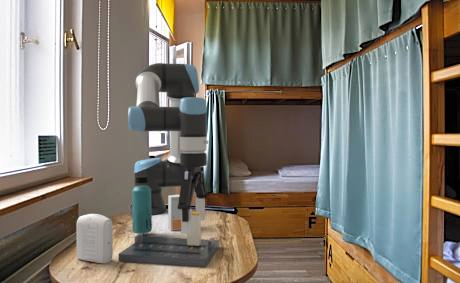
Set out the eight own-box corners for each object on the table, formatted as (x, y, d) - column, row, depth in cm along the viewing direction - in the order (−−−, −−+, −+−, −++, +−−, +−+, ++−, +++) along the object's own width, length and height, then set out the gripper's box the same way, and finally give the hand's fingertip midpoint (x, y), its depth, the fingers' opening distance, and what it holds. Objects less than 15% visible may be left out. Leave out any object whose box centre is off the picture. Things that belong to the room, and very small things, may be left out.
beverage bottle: (147, 239, 110) (146, 177, 110) (128, 237, 111) (127, 177, 111) (155, 233, 116) (155, 175, 116) (137, 232, 118) (137, 174, 117)
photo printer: (115, 259, 92) (115, 214, 92) (104, 265, 88) (103, 217, 88) (86, 254, 96) (85, 211, 95) (73, 260, 92) (73, 214, 91)
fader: (189, 242, 98) (188, 211, 98) (201, 243, 98) (200, 211, 98) (186, 245, 96) (186, 213, 96) (199, 245, 96) (198, 213, 95)
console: (144, 242, 106) (144, 229, 106) (219, 246, 102) (219, 233, 102) (118, 261, 91) (118, 246, 90) (205, 267, 86) (205, 251, 86)
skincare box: (171, 231, 119) (170, 197, 119) (168, 228, 123) (167, 195, 123) (187, 229, 121) (187, 195, 121) (184, 226, 125) (184, 194, 125)
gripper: (193, 155, 84) (193, 240, 84) (216, 149, 108) (216, 215, 109) (164, 155, 85) (165, 238, 86) (193, 149, 109) (193, 214, 110)
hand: (193, 226), depth 97 cm, fingers open, 13 cm apart
